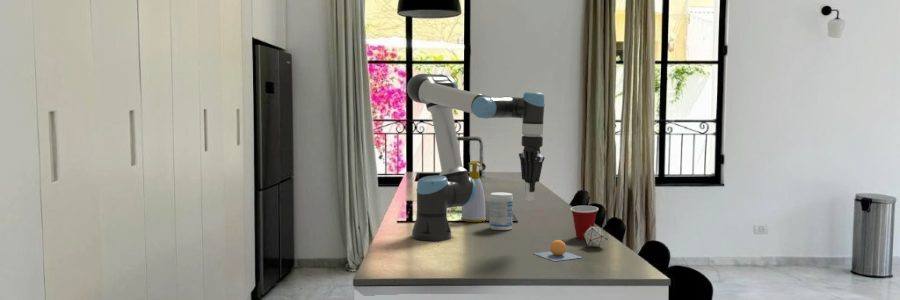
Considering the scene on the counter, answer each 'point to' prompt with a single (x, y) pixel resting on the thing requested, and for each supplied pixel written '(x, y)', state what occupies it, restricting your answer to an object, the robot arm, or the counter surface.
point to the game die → (594, 236)
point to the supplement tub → (501, 211)
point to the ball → (558, 247)
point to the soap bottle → (475, 199)
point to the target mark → (557, 258)
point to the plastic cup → (583, 219)
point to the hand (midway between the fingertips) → (529, 200)
